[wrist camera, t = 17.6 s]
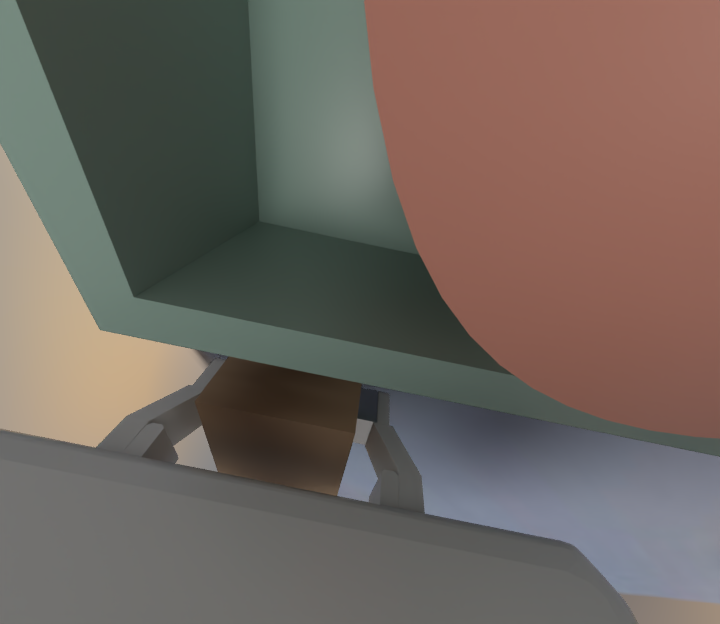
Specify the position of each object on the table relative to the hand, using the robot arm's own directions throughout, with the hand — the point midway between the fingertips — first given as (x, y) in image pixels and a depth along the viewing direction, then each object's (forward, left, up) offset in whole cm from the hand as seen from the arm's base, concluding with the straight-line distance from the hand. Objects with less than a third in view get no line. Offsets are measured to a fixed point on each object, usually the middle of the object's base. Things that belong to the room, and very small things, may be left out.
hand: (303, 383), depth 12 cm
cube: (0, 0, -2) cm, 2 cm away
